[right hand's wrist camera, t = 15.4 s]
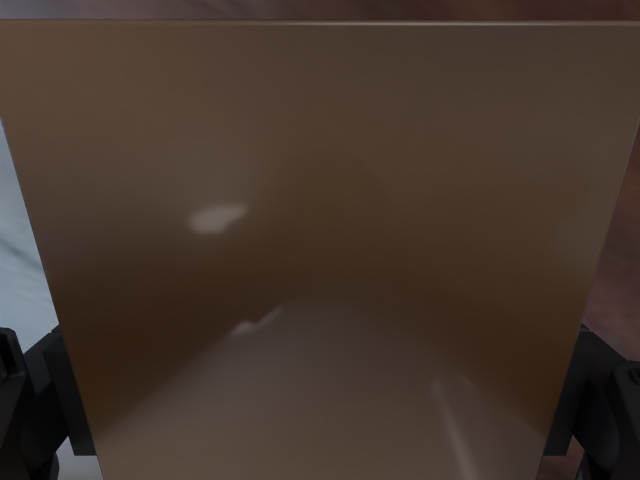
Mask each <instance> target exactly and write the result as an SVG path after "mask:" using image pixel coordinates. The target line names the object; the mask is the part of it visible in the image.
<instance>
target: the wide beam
mask: <svg viewBox="0 0 640 480" xmlns="http://www.w3.org/2000/svg"><path fill="white" fill-rule="evenodd" d="M0 119H1V122H2V126H3V129H4V133H5V136H6V140H7V143H8V147H9V150H10V154H11V157H12V161H13V164H14V168H15V171H16V175H17V178H18V182H19V185H20V189H21V192H22V196H23V199H24V203H25V206H26V210H27V213H28V216H29V220H30V223H31V227H32V230H33V234H34V237H35V241H36V244H37V248H38V251H39V255H40V258H41V262H42V265H43V269H44V272H45V276H46V279H47V283H48V286H49V290H50V293H51V297H52V300H53V304H54V307H55V311H56V314H57V318H58V321H59V325H60V328H61V332H62V335H63V339H64V342H65V346H66V349H67V353H68V356H69V360H70V363H71V367H72V370H73V374H74V377H75V381H76V384H77V388H78V391H79V395H80V398H81V402H82V405H83V409H84V412H85V416H86V419H87V423H88V426H89V430H90V433H91V437H92V440H93V444H94V447H95V451H96V454H97V458H98V461H99V465H100V468H101V472H102V475H103V479H104V480H536V479H537V475H538V472H539V468H540V465H541V462H542V458H543V455H544V451H545V448H546V444H547V441H548V437H549V434H550V431H551V427H552V424H553V420H554V417H555V413H556V410H557V407H558V403H559V400H560V396H561V393H562V389H563V386H564V382H565V379H566V376H567V372H568V369H569V365H570V362H571V358H572V355H573V351H574V348H575V345H576V341H577V338H578V334H579V331H580V327H581V324H582V320H583V317H584V314H585V310H586V307H587V303H588V300H589V296H590V293H591V289H592V286H593V283H594V279H595V276H596V272H597V269H598V265H599V262H600V259H601V255H602V252H603V248H604V245H605V241H606V238H607V234H608V231H609V228H610V224H611V221H612V217H613V214H614V210H615V207H616V203H617V200H618V197H619V193H620V190H621V186H622V183H623V179H624V176H625V172H626V169H627V166H628V162H629V159H630V155H631V152H632V148H633V145H634V141H635V138H636V135H637V131H638V128H639V124H640V20H303V19H0Z"/></svg>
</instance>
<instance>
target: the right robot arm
mask: <svg viewBox="0 0 640 480" xmlns="http://www.w3.org/2000/svg"><path fill="white" fill-rule="evenodd" d="M572 434H573V435H574V437H575V438H576V439H577V440H578V442H579V443H580V444H581V446H582V447H583V448H584V450H585V451H584V454H583V457H582V460H581V463H580V466H579V469H578V472H577V475H576V478H575V480H640V362H637V361H627V360H626V359H625V358H624V357H622V356H621V355H620V354H619V353H617V352H616V351H615V350H614V349H613V348H611V347H610V346H609V345H608V344H607V343H605V342H604V341H603V340H602V339H601V338H599V337H598V336H597V335H596V334H594V333H593V332H590V331H589V329H588V328H587V327H586V326H585V325H584V324H581V327H580V331H579V334H578V338H577V341H576V345H575V348H574V351H573V355H572V358H571V362H570V365H569V369H568V372H567V376H566V379H565V382H564V386H563V389H562V393H561V396H560V400H559V403H558V407H557V410H556V413H555V417H554V420H553V424H552V427H551V431H550V434H549V437H548V441H547V444H546V448H545V451H544V455H543V456H566V453H567V450H568V447H569V444H570V441H571V437H572ZM67 436H69V439H70V443H71V446H72V449H73V452H74V455H75V456H97V454H96V451H95V447H94V444H93V440H92V437H91V433H90V430H89V426H88V423H87V419H86V416H85V412H84V409H83V405H82V402H81V398H80V395H79V391H78V388H77V384H76V381H75V377H74V374H73V370H72V367H71V363H70V360H69V356H68V353H67V349H66V346H65V342H64V339H63V335H62V332H61V328H60V325H58V326H56V327H55V328H54V329H53V330H52V331H51V333H48V334H47V335H46V336H44V337H43V338H42V339H41V340H40V341H38V342H37V343H36V344H35V345H34V346H32V347H31V348H30V349H29V350H28V351H26V352H25V353H24V354H23V353H22V350H21V347H20V344H19V341H18V339H17V336H16V333H15V331H13V330H11V329H10V328H1V327H0V480H57V479H58V473H59V461H58V457H57V454H56V451H57V449H58V448H59V447H60V446H61V444H62V443H63V442H64V440H65V439H66V438H67Z"/></svg>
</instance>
